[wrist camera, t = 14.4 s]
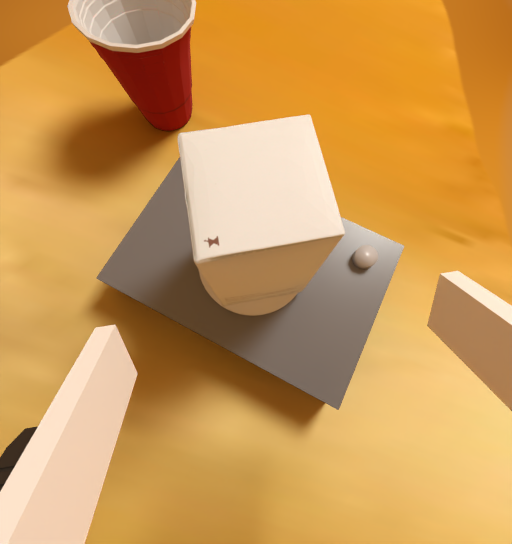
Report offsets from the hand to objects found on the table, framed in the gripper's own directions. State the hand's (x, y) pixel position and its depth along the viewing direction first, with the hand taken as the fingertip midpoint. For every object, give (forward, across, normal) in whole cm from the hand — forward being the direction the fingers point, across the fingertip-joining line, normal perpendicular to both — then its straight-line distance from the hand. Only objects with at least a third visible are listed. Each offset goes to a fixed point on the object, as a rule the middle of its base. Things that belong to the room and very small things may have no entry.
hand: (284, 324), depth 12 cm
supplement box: (+14, 0, -4) cm, 15 cm away
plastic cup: (+33, -7, +9) cm, 35 cm away
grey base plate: (+17, 0, -7) cm, 19 cm away
